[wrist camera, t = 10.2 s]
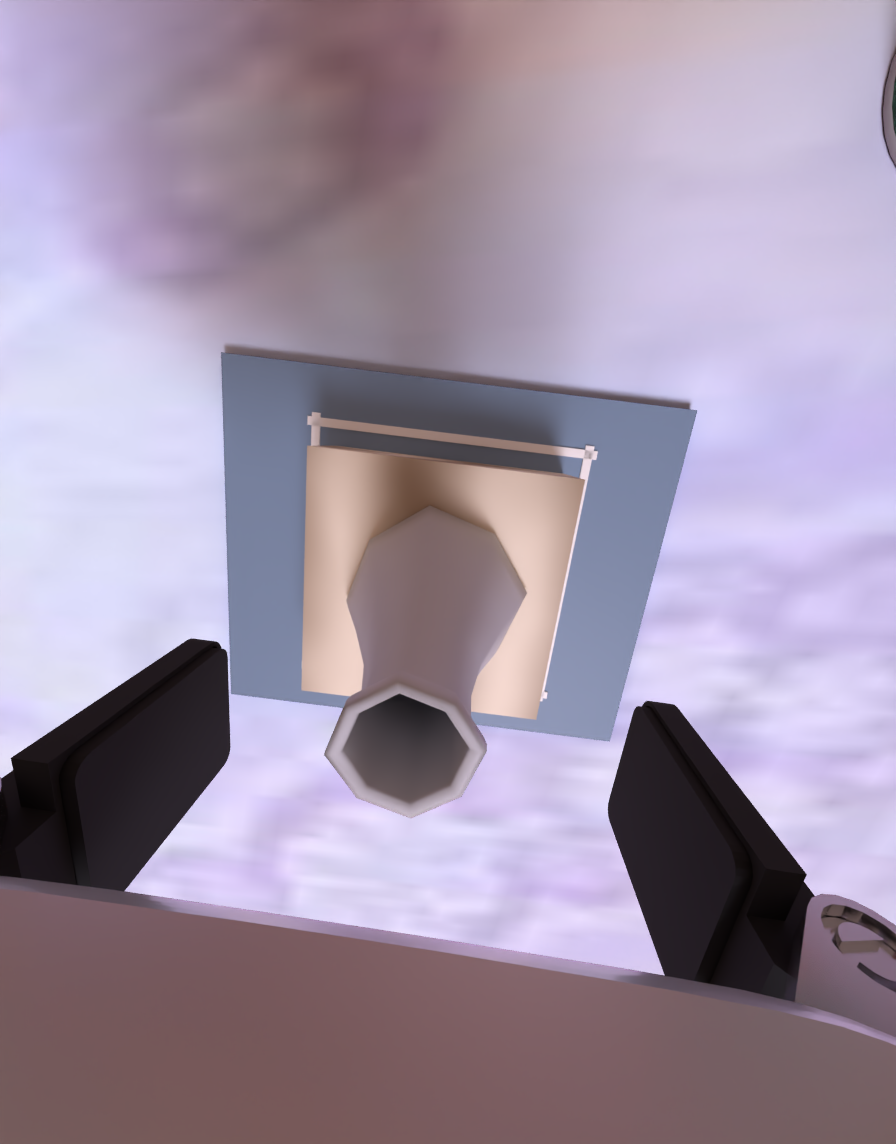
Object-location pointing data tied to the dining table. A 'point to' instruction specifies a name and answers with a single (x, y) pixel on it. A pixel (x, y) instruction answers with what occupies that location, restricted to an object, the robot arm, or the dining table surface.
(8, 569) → the dining table surface
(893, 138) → the canned tomato
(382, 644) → the flask
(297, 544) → the board
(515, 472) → the birch plinth
